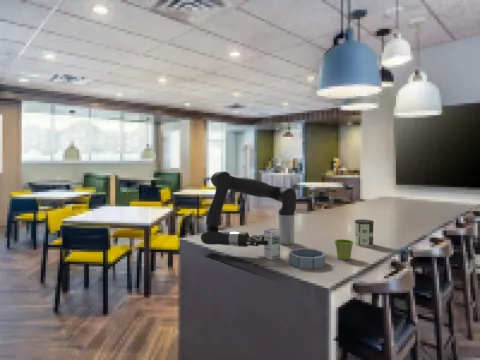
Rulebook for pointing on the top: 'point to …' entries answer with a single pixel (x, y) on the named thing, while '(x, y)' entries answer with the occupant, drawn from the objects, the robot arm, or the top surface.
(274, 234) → the syrup box
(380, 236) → the top surface
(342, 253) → the plant pot
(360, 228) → the coffee can
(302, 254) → the bowl
